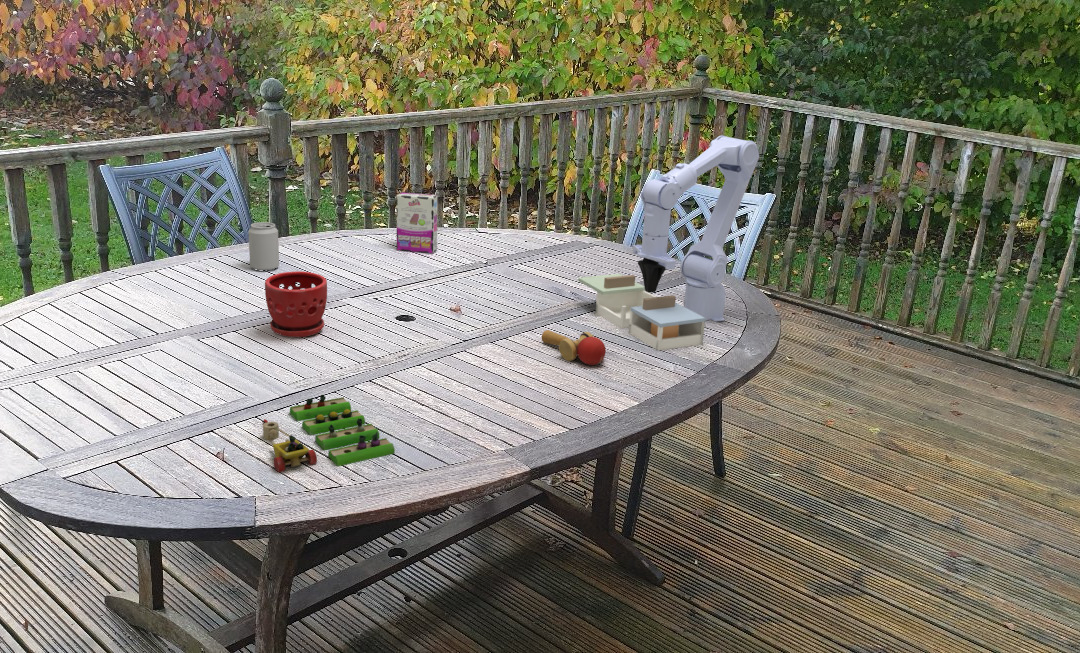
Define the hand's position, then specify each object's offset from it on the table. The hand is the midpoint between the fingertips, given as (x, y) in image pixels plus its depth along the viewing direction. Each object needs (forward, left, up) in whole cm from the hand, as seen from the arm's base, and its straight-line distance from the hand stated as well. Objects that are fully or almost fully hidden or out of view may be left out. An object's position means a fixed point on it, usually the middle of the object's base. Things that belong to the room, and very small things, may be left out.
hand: (650, 291), depth 223 cm
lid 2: (0, +7, -4) cm, 8 cm away
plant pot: (+75, -26, -10) cm, 80 cm away
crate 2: (0, +7, -10) cm, 12 cm away
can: (+71, -77, -10) cm, 105 cm away
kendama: (+24, +7, -10) cm, 27 cm away
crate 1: (0, -8, -10) cm, 12 cm away
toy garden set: (+85, +27, -10) cm, 90 cm away
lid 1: (0, -17, -3) cm, 17 cm away
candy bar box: (+26, -83, -10) cm, 87 cm away
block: (+1, +9, -9) cm, 13 cm away
